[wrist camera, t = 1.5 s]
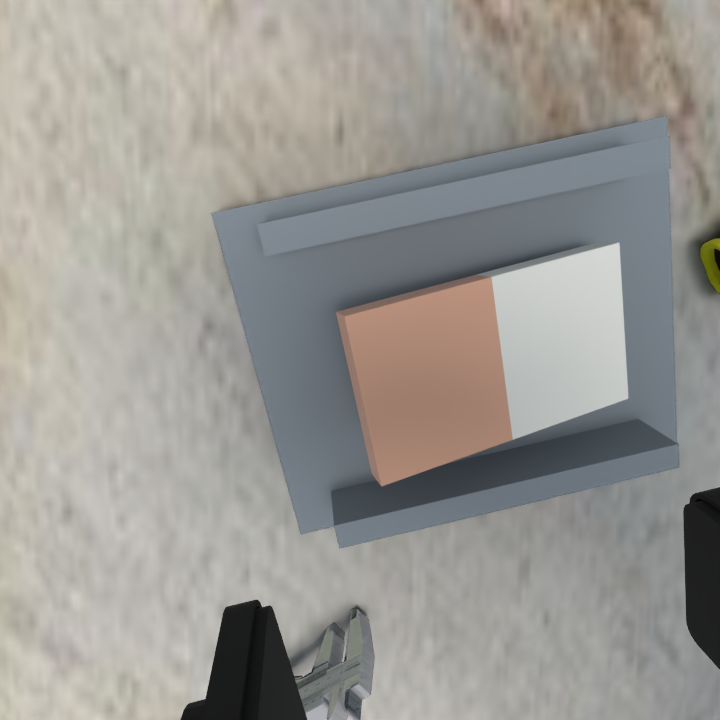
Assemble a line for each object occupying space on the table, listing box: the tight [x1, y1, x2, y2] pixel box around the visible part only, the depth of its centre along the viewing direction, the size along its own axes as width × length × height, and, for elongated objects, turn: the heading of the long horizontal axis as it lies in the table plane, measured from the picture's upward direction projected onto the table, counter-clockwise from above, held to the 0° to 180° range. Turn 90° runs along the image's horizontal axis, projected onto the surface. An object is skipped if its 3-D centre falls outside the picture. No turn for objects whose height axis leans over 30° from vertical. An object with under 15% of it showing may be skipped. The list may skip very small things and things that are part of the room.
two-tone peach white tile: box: [336, 242, 628, 487], centre depth 22 cm, size 12×7×1 cm, turn 102°
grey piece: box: [212, 116, 679, 548], centre depth 24 cm, size 20×16×5 cm
